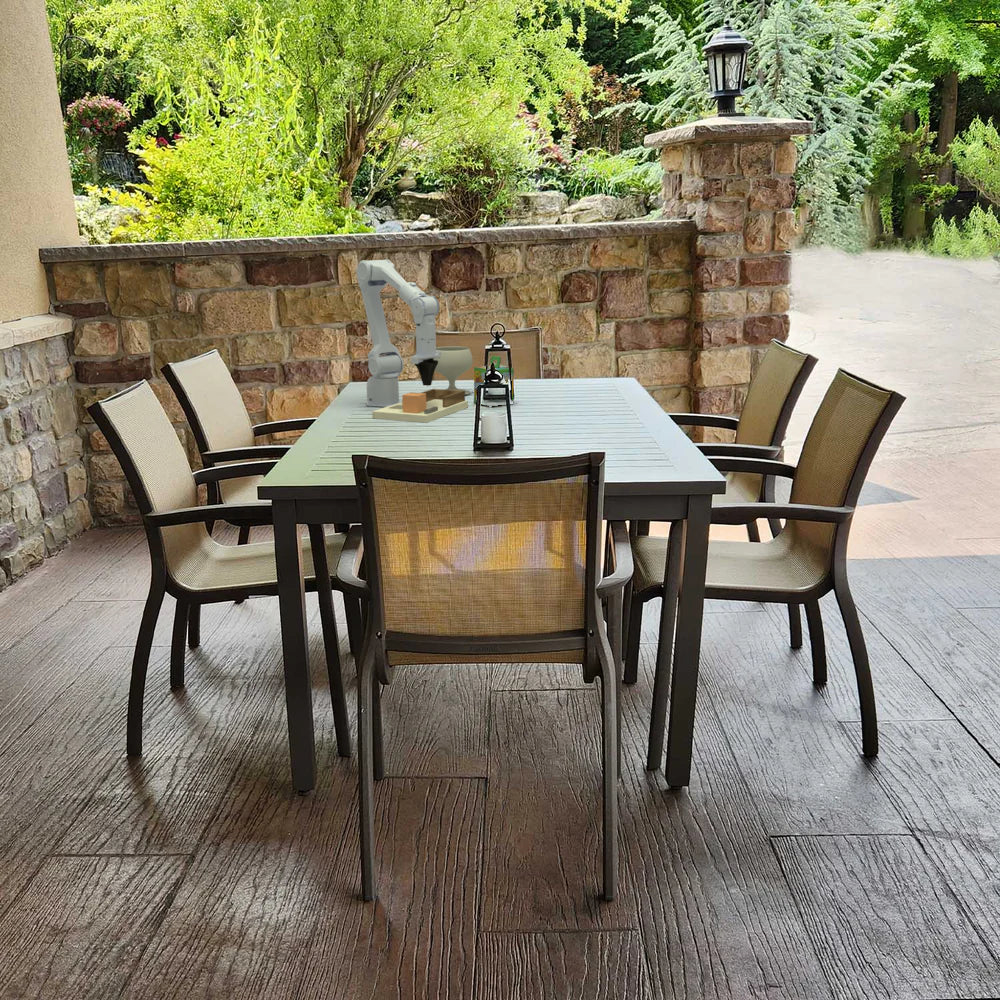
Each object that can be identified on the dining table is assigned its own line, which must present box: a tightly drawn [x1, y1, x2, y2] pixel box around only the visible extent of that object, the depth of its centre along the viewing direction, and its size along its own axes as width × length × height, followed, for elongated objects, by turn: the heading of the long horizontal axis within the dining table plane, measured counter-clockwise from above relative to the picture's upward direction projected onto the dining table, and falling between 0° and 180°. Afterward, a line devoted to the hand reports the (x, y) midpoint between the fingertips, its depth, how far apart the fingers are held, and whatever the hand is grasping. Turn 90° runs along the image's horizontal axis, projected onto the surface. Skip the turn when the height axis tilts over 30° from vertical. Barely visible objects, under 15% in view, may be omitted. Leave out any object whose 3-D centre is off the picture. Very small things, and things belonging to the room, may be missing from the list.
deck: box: [371, 399, 469, 424], centre depth 299 cm, size 18×26×2 cm
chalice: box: [433, 345, 474, 396], centre depth 329 cm, size 14×14×15 cm
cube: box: [401, 392, 427, 413], centre depth 290 cm, size 5×5×5 cm
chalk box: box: [473, 355, 515, 405], centre depth 310 cm, size 9×9×15 cm
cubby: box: [420, 388, 466, 408], centre depth 303 cm, size 11×12×3 cm
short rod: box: [424, 406, 438, 414], centre depth 288 cm, size 1×6×1 cm, turn 155°
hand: (427, 385), depth 296 cm, fingers closed
